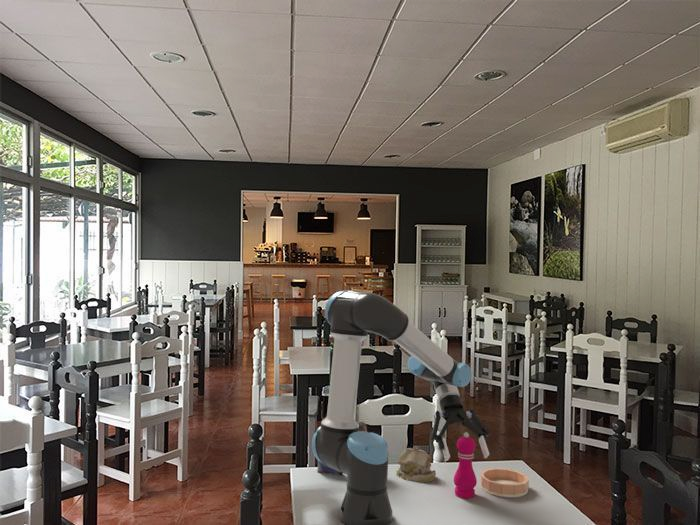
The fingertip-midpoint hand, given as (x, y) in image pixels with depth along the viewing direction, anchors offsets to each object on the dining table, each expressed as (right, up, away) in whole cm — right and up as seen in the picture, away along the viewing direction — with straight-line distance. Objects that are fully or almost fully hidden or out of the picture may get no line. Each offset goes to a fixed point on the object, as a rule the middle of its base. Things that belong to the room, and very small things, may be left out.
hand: (467, 457), depth 192 cm
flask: (-44, -11, +17) cm, 49 cm away
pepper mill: (-1, -12, 0) cm, 12 cm away
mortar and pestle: (-32, -11, +14) cm, 36 cm away
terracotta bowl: (+13, -12, +6) cm, 19 cm away
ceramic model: (-15, -12, +16) cm, 25 cm away
